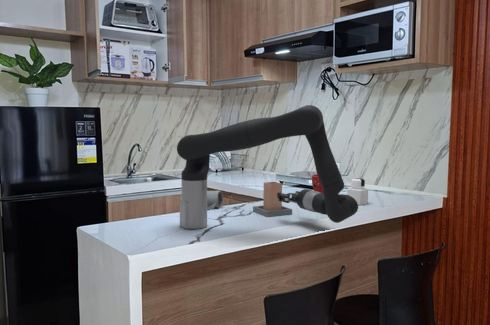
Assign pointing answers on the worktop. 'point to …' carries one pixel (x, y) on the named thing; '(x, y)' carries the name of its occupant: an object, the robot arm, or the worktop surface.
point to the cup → (272, 196)
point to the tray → (272, 213)
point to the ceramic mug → (214, 199)
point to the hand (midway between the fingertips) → (287, 194)
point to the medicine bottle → (358, 191)
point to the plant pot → (317, 186)
